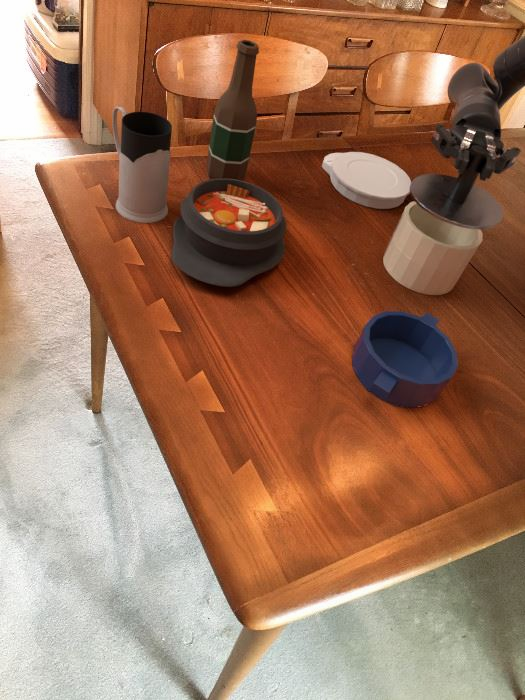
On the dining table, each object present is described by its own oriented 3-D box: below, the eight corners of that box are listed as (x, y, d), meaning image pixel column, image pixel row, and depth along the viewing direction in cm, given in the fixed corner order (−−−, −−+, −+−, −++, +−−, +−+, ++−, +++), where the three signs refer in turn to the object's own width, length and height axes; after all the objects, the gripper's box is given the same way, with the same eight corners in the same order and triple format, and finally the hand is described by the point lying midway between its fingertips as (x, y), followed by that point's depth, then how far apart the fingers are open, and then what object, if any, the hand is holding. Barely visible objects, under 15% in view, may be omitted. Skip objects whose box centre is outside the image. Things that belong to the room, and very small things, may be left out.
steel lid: (519, 228, 84) (552, 173, 78) (444, 237, 78) (473, 178, 72) (461, 177, 93) (486, 124, 86) (390, 182, 87) (411, 125, 80)
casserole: (206, 193, 102) (213, 151, 96) (300, 230, 100) (313, 189, 94) (141, 267, 85) (144, 221, 79) (253, 312, 83) (265, 269, 77)
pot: (465, 271, 103) (492, 226, 95) (439, 306, 94) (467, 260, 87) (400, 236, 106) (422, 190, 99) (370, 267, 97) (392, 219, 90)
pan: (458, 359, 86) (475, 336, 82) (413, 437, 73) (430, 413, 70) (382, 314, 89) (395, 289, 85) (326, 381, 77) (338, 356, 73)
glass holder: (132, 228, 91) (136, 142, 80) (90, 182, 97) (88, 96, 86) (177, 216, 95) (187, 133, 85) (134, 173, 101) (138, 91, 91)
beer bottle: (230, 161, 112) (254, 32, 94) (252, 182, 108) (281, 52, 91) (197, 166, 107) (216, 33, 90) (219, 188, 104) (243, 54, 87)
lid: (351, 151, 126) (355, 139, 124) (421, 197, 118) (427, 184, 116) (301, 168, 116) (305, 155, 113) (375, 219, 108) (380, 206, 106)
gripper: (443, 90, 88) (437, 130, 76) (529, 115, 87) (537, 161, 75) (425, 135, 94) (416, 180, 81) (506, 160, 93) (509, 209, 80)
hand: (474, 170), depth 78 cm, fingers closed on steel lid, 2 cm apart
